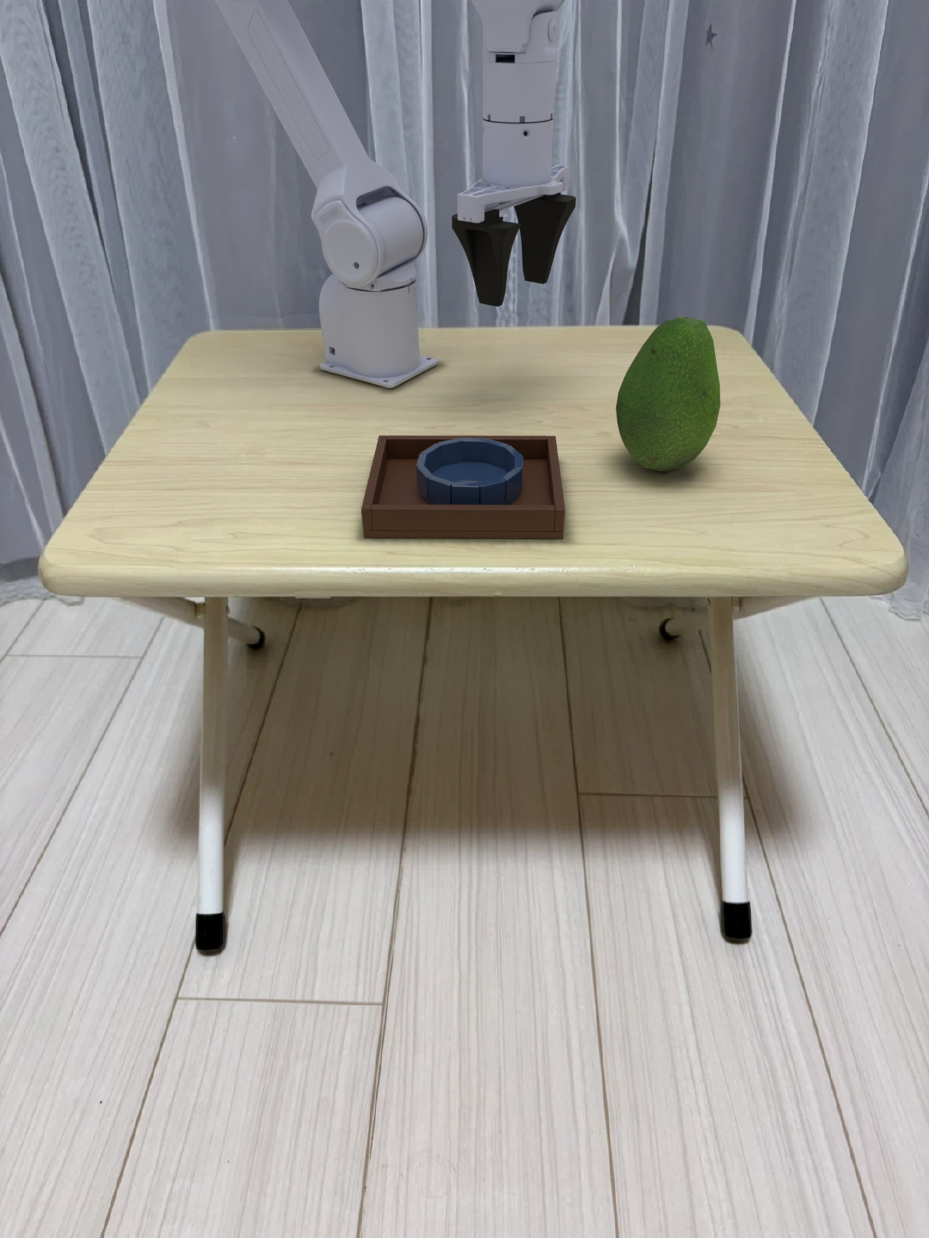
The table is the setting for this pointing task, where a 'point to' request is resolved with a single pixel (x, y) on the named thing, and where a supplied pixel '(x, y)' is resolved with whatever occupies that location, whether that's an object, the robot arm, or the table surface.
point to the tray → (407, 515)
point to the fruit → (670, 396)
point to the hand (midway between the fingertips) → (514, 292)
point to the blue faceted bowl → (470, 472)
